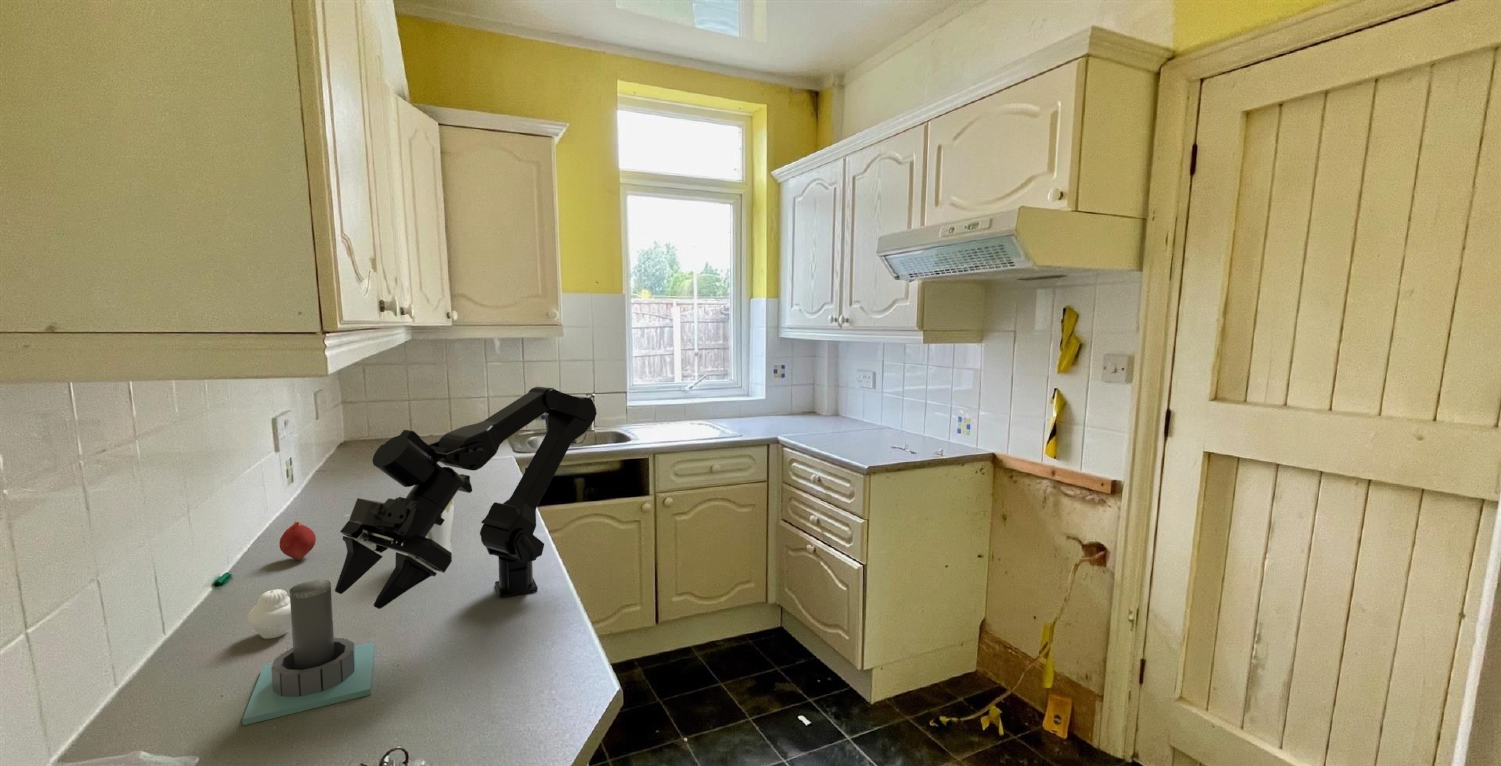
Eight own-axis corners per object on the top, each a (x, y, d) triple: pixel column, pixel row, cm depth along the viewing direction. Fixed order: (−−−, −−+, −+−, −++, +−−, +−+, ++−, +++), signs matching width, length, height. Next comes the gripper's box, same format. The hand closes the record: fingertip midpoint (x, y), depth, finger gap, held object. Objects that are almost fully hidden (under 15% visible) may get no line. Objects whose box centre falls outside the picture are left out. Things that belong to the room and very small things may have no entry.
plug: (312, 666, 84) (307, 578, 83) (343, 667, 84) (338, 580, 83) (286, 685, 80) (280, 593, 78) (319, 686, 80) (313, 594, 78)
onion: (273, 563, 120) (270, 523, 119) (300, 552, 126) (298, 514, 125) (296, 566, 119) (294, 526, 118) (323, 555, 124) (321, 517, 123)
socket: (264, 670, 84) (262, 644, 84) (374, 647, 91) (373, 622, 90) (242, 725, 73) (240, 695, 73) (370, 694, 79) (369, 666, 79)
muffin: (308, 629, 95) (305, 586, 95) (263, 648, 90) (259, 602, 89) (286, 620, 98) (283, 578, 97) (240, 637, 93) (237, 593, 92)
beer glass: (445, 548, 129) (443, 479, 128) (461, 557, 125) (459, 485, 123) (410, 558, 124) (408, 485, 122) (426, 567, 120) (423, 492, 118)
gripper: (350, 466, 93) (271, 562, 85) (429, 483, 84) (350, 591, 76) (402, 503, 101) (335, 593, 92) (480, 522, 92) (414, 624, 84)
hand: (356, 599), depth 86 cm, fingers open, 9 cm apart
